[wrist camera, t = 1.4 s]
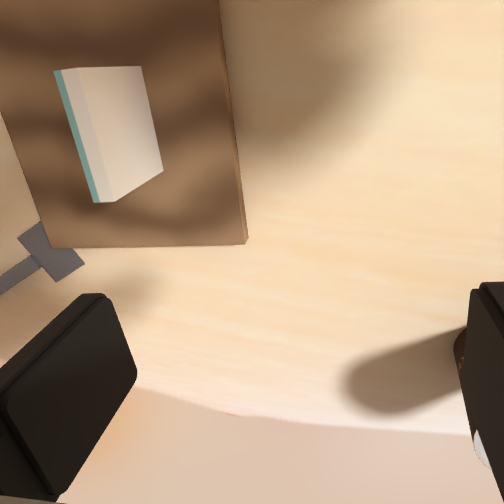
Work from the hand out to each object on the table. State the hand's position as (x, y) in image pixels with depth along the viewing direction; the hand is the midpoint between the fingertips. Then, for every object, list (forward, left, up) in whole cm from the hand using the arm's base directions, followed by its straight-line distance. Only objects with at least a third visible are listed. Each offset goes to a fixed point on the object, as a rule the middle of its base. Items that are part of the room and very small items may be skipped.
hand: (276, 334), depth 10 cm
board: (-4, -17, -23) cm, 29 cm away
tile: (-4, -14, -22) cm, 26 cm away
